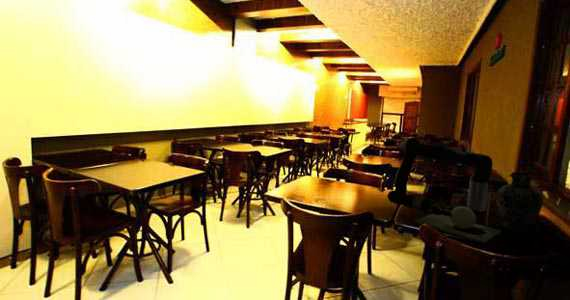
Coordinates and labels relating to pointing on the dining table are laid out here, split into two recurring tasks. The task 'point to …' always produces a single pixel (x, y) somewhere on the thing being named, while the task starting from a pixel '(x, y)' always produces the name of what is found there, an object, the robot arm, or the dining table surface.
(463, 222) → the ball
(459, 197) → the soda can
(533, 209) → the decorative vase
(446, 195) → the dining table surface
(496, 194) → the putting board
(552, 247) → the dining table surface
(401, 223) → the dining table surface
